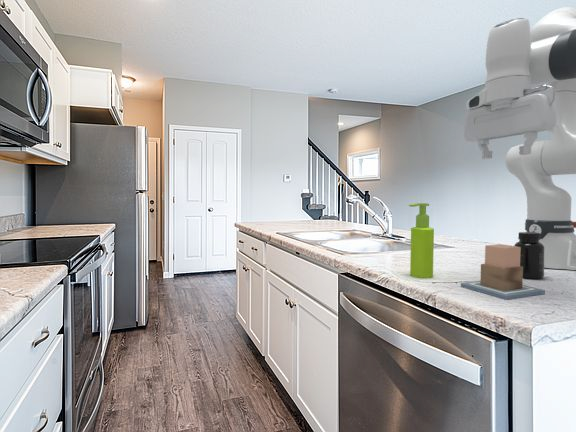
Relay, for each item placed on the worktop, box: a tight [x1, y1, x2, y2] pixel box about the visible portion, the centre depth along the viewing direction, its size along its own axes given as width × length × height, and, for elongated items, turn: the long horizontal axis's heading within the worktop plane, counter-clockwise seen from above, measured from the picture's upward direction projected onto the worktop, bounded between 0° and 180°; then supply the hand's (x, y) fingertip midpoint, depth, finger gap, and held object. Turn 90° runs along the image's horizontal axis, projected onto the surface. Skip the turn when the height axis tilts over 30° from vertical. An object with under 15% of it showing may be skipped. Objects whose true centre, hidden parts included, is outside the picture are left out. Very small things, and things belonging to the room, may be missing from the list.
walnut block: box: [479, 263, 524, 291], centre depth 84 cm, size 6×6×5 cm
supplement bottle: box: [513, 231, 545, 280], centre depth 98 cm, size 7×7×12 cm
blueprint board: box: [460, 280, 546, 301], centre depth 85 cm, size 12×12×1 cm
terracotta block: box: [484, 243, 521, 268], centre depth 84 cm, size 5×5×4 cm
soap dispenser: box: [408, 202, 435, 279], centre depth 99 cm, size 6×7×20 cm
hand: (504, 156), depth 83 cm, fingers open, 8 cm apart
